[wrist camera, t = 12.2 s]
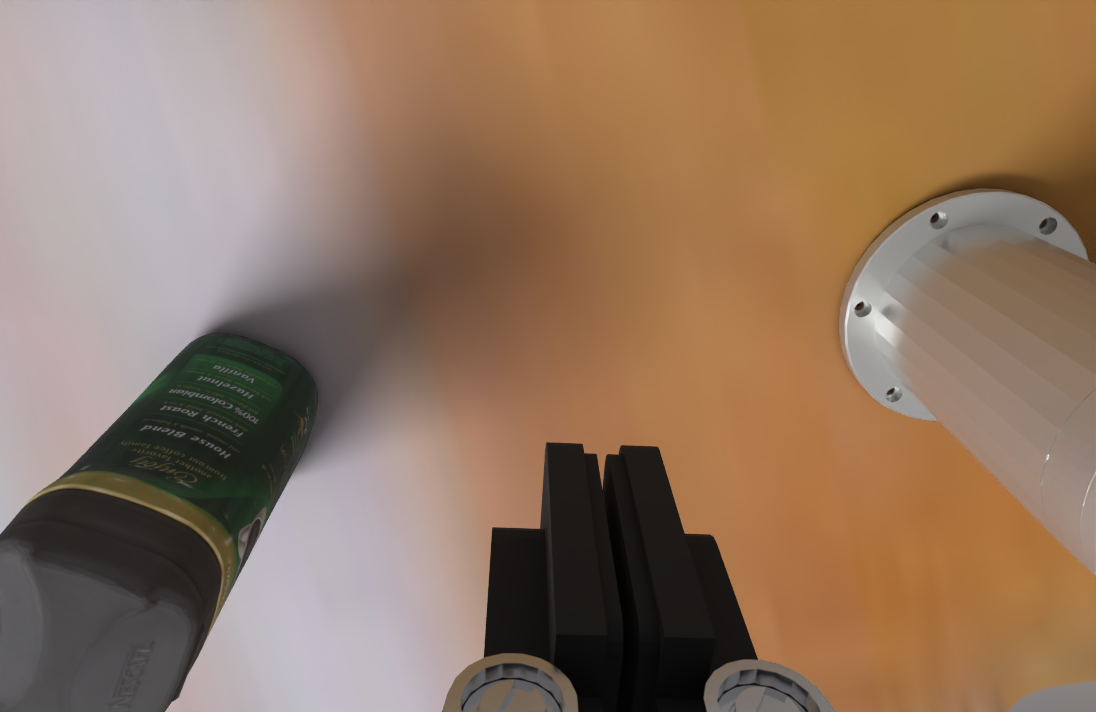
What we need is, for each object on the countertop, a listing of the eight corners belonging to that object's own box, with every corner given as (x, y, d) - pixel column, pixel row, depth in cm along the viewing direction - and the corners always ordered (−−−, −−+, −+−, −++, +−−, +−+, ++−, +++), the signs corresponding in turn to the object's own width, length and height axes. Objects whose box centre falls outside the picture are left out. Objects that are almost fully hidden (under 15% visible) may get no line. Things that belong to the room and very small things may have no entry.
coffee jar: (192, 307, 41) (-44, 519, 24) (339, 366, 43) (214, 604, 26) (145, 455, 44) (-92, 732, 27) (282, 504, 46) (138, 796, 29)
